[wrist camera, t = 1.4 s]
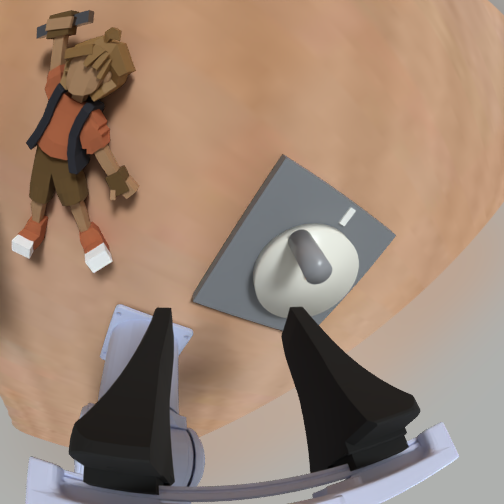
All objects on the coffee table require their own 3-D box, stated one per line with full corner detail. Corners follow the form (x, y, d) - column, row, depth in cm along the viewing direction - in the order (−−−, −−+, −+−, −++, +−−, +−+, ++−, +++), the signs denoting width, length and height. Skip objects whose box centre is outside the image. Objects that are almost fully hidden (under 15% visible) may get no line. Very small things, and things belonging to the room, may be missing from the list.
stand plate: (304, 330, 30) (307, 338, 29) (192, 294, 25) (192, 302, 24) (390, 230, 24) (396, 236, 23) (282, 154, 19) (287, 157, 18)
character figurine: (28, 234, 19) (7, 260, 15) (60, 17, 10) (33, 8, 7) (122, 257, 22) (112, 287, 19) (181, 28, 13) (176, 13, 10)
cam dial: (356, 288, 26) (380, 326, 22) (269, 321, 26) (281, 365, 22) (346, 203, 21) (380, 237, 17) (235, 243, 21) (245, 287, 17)
